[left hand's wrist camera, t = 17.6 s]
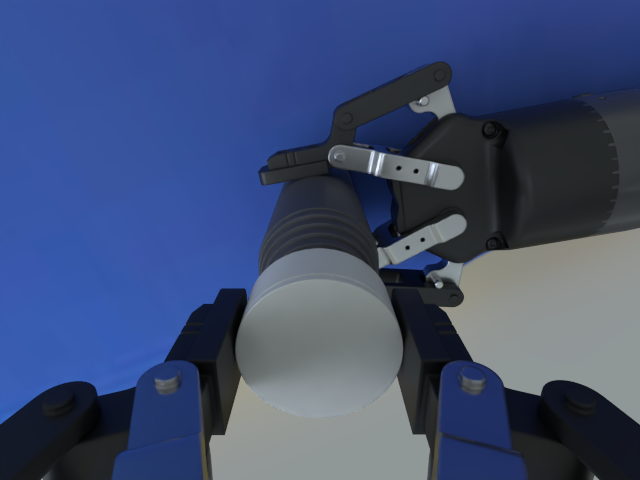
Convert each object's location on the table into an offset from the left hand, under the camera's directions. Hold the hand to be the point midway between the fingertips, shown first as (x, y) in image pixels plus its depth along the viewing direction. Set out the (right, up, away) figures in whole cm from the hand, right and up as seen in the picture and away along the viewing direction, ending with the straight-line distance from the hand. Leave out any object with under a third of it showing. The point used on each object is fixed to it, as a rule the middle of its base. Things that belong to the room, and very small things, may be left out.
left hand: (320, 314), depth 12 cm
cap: (0, -1, -2) cm, 2 cm away
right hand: (-3, +3, +10) cm, 11 cm away
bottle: (0, +6, +16) cm, 17 cm away
